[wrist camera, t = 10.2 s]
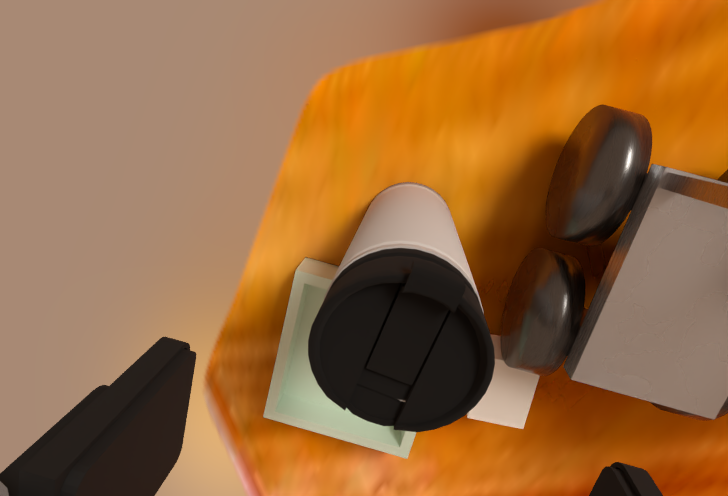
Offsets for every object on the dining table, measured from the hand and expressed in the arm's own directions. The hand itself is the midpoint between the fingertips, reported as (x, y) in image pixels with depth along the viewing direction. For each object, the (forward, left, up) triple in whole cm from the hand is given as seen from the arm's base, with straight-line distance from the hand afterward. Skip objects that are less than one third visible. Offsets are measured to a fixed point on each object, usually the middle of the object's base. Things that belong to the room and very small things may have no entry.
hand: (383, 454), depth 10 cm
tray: (-11, +1, -24) cm, 27 cm away
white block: (-9, -10, -25) cm, 28 cm away
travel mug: (0, 0, -25) cm, 25 cm away
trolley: (+2, -15, -24) cm, 29 cm away
